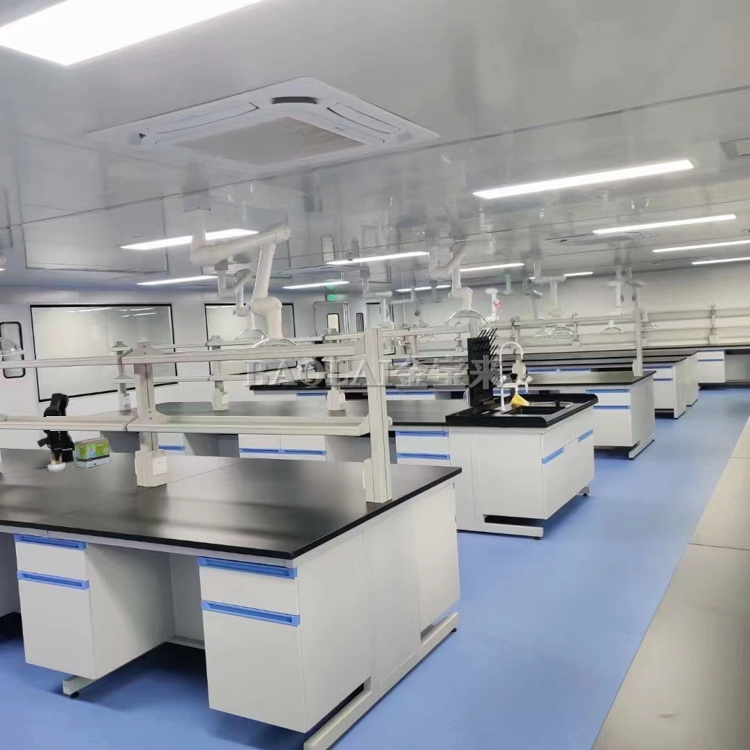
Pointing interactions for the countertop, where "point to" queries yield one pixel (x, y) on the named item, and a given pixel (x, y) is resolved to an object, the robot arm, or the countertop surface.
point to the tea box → (92, 452)
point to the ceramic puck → (57, 467)
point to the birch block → (53, 460)
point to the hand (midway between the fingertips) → (56, 459)
